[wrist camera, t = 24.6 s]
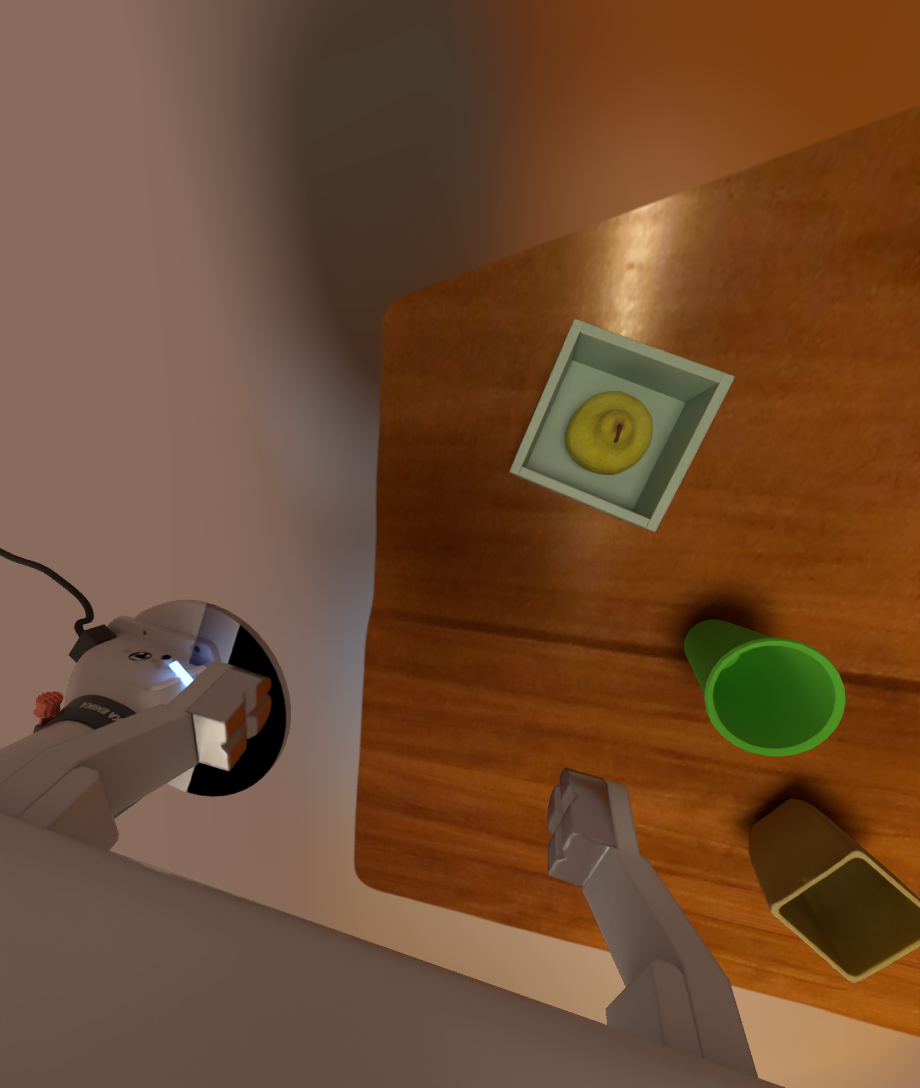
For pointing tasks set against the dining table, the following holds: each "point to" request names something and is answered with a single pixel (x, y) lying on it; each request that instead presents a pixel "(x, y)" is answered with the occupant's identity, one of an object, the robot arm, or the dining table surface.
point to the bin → (653, 378)
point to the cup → (764, 688)
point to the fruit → (609, 433)
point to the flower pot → (832, 891)
